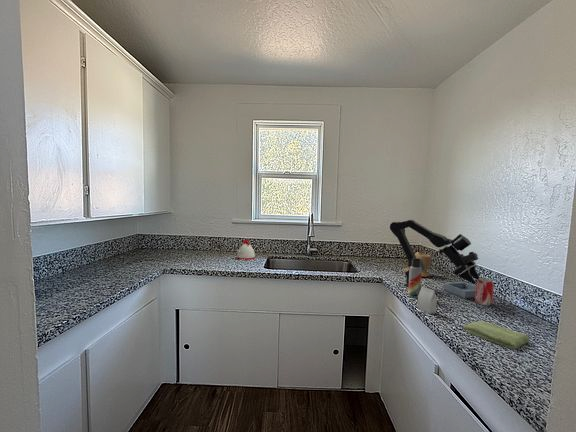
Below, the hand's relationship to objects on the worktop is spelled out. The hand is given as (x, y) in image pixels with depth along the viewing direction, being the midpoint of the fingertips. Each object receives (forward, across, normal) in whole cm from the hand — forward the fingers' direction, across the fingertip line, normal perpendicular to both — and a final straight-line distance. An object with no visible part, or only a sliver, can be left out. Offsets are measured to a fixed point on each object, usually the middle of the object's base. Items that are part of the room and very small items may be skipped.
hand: (477, 281), depth 144 cm
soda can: (+9, 0, +5) cm, 11 cm away
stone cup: (-21, +30, +35) cm, 51 cm away
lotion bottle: (-10, -15, +24) cm, 31 cm away
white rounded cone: (-100, -28, +113) cm, 153 cm away
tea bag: (-2, -30, +16) cm, 35 cm away
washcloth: (+17, -37, -2) cm, 41 cm away
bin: (+2, +10, +13) cm, 16 cm away
